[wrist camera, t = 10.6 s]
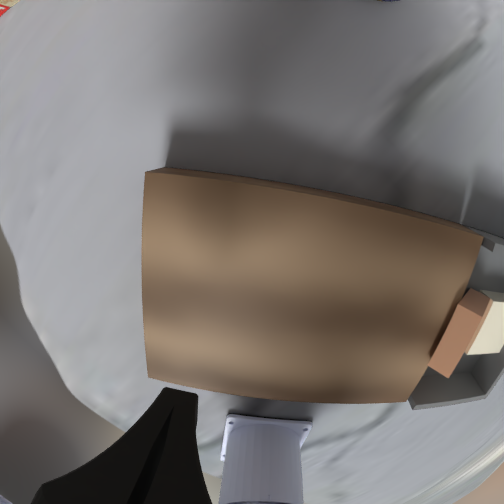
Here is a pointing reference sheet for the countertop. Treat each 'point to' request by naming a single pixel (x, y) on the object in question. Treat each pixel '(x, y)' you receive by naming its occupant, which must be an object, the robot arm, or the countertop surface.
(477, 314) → the tile front
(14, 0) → the stack of blocks
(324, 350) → the wooden serving tray
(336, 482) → the countertop surface
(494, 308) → the tile back
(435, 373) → the bin
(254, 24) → the countertop surface
